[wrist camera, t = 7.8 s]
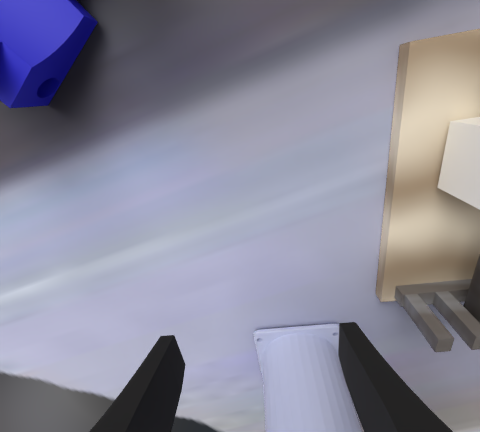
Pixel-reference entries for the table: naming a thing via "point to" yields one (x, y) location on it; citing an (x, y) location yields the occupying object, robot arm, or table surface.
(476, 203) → the cord end block
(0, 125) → the table surface
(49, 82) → the blue stepped block
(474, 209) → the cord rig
